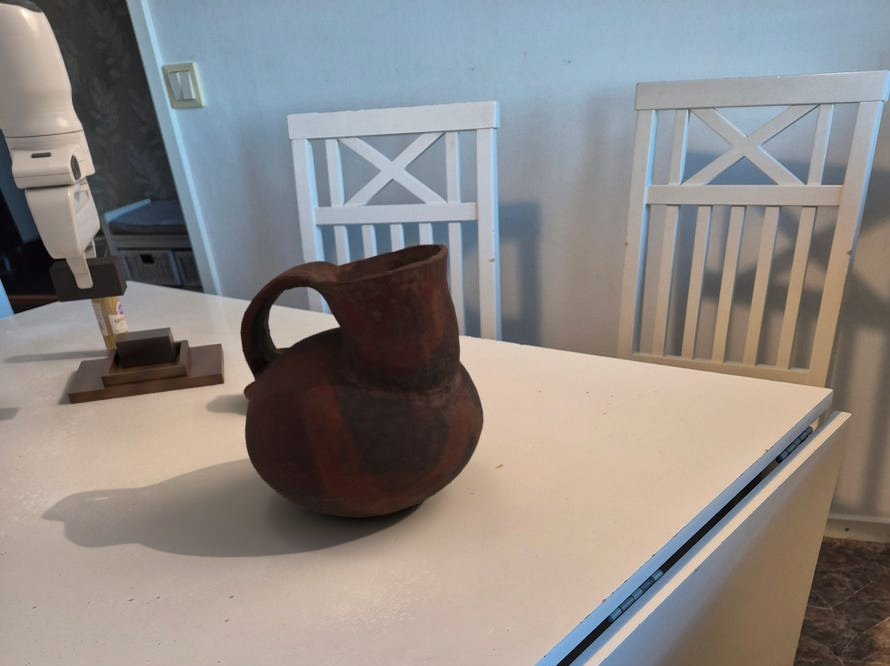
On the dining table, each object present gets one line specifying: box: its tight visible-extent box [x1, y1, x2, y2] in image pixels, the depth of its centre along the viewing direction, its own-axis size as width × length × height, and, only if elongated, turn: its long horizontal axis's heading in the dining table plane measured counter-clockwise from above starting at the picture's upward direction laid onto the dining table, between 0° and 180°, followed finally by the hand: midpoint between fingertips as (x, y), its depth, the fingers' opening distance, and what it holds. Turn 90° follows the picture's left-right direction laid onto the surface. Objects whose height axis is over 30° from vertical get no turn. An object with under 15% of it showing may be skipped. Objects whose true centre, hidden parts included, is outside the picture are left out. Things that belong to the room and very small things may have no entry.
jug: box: [239, 243, 485, 518], centre depth 86 cm, size 25×25×25 cm
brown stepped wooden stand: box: [67, 326, 225, 405], centre depth 129 cm, size 22×16×6 cm
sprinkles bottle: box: [90, 296, 130, 355], centre depth 138 cm, size 5×5×14 cm
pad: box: [48, 254, 128, 303], centre depth 110 cm, size 8×5×4 cm, turn 104°
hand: (90, 281), depth 110 cm, fingers closed on pad, 5 cm apart
